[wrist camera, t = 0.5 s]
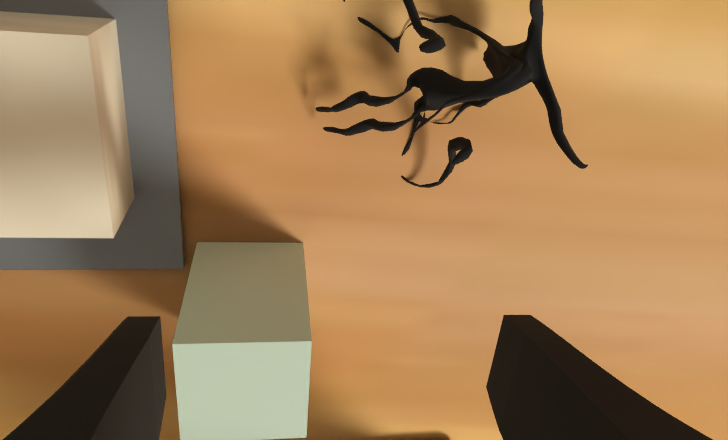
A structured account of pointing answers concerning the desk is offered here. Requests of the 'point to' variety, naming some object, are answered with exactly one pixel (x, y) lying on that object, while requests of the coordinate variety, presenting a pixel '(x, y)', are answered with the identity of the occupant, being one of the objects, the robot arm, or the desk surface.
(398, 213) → the desk surface
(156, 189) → the mat
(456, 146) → the creature
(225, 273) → the pillar block
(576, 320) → the desk surface
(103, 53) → the base slab
